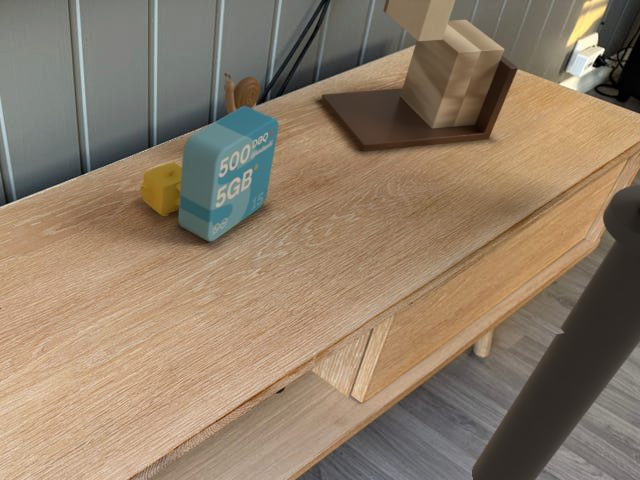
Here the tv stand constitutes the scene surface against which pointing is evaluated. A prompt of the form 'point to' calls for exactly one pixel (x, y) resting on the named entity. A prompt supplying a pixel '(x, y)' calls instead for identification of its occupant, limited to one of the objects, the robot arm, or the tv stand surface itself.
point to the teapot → (162, 188)
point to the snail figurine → (241, 93)
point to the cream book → (421, 17)
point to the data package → (226, 172)
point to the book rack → (432, 95)
